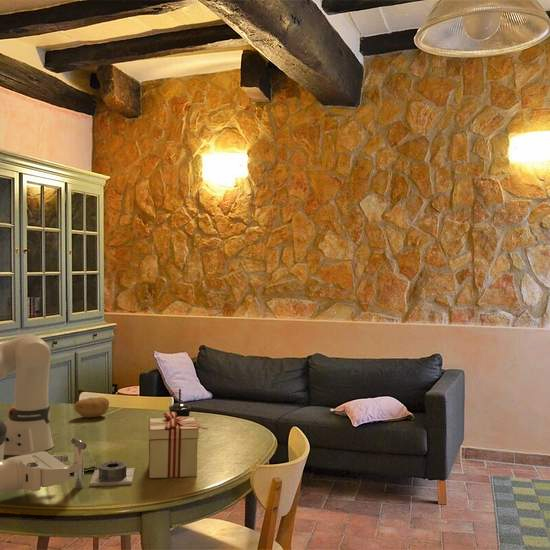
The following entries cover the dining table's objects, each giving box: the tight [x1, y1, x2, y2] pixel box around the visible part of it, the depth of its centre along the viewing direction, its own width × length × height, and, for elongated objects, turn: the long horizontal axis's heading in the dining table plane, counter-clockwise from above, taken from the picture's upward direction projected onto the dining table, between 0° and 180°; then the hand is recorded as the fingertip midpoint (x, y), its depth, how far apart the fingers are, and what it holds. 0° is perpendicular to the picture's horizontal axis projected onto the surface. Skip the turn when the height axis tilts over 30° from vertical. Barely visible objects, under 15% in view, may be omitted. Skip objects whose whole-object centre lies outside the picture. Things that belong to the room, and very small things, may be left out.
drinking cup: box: [168, 388, 192, 417], centre depth 231 cm, size 8×8×20 cm
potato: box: [73, 396, 110, 419], centre depth 271 cm, size 10×14×8 cm
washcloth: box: [52, 449, 99, 474], centre depth 209 cm, size 13×18×3 cm
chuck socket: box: [89, 460, 136, 487], centre depth 197 cm, size 12×12×4 cm
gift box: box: [147, 411, 209, 479], centre depth 205 cm, size 17×18×17 cm
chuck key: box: [70, 437, 87, 490], centre depth 189 cm, size 7×3×14 cm, turn 38°
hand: (73, 461), depth 188 cm, fingers open, 8 cm apart
